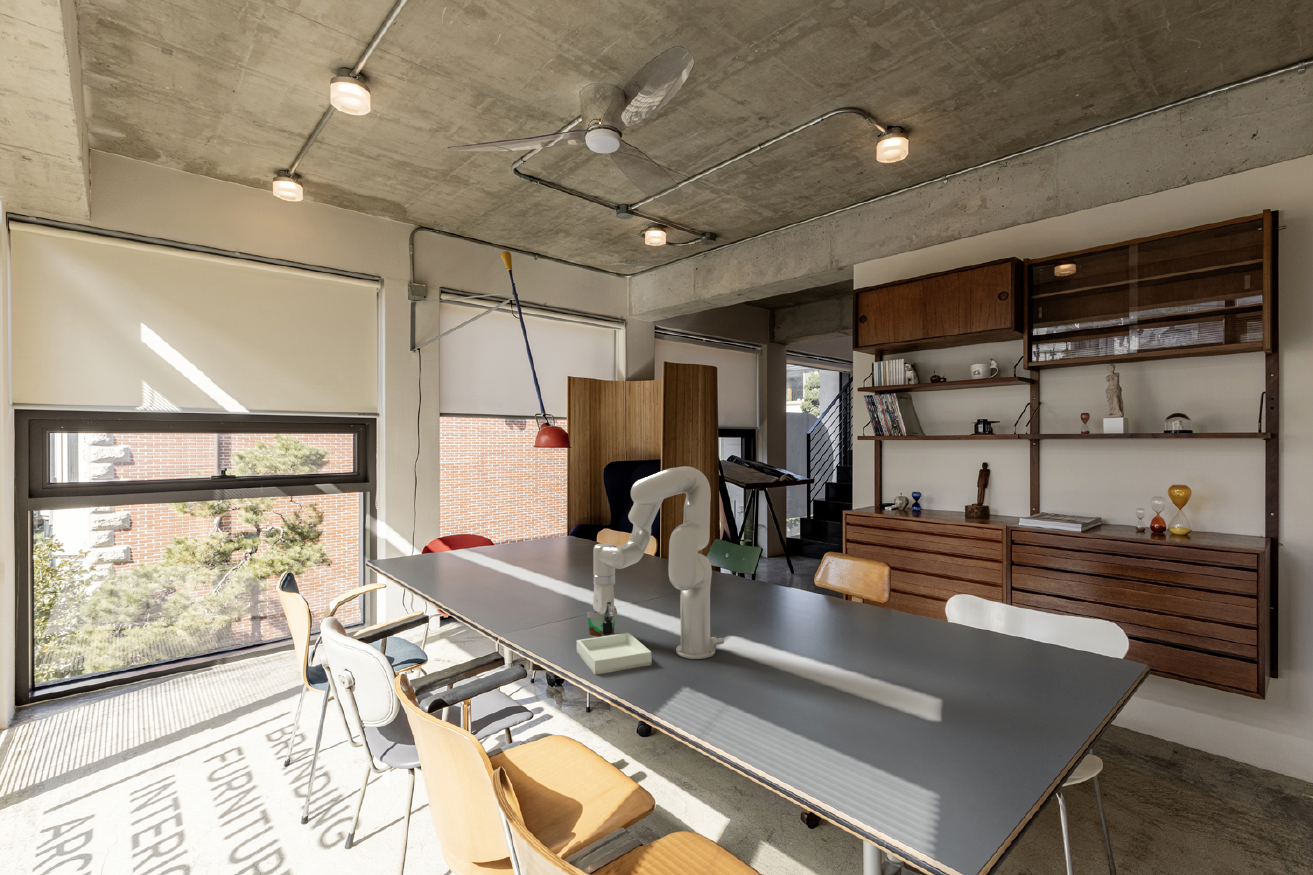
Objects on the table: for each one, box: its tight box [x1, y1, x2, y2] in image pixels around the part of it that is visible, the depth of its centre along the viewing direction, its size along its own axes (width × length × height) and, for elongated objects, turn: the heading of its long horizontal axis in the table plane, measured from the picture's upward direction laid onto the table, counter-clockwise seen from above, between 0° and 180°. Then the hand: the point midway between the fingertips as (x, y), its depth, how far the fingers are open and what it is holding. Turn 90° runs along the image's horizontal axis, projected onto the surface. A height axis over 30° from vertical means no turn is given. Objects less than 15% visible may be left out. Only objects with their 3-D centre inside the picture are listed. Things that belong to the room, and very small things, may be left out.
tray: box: [576, 632, 653, 676], centre depth 190 cm, size 18×20×4 cm
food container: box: [586, 605, 618, 638], centre depth 210 cm, size 12×6×10 cm, turn 139°
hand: (604, 630), depth 210 cm, fingers closed on food container, 6 cm apart
